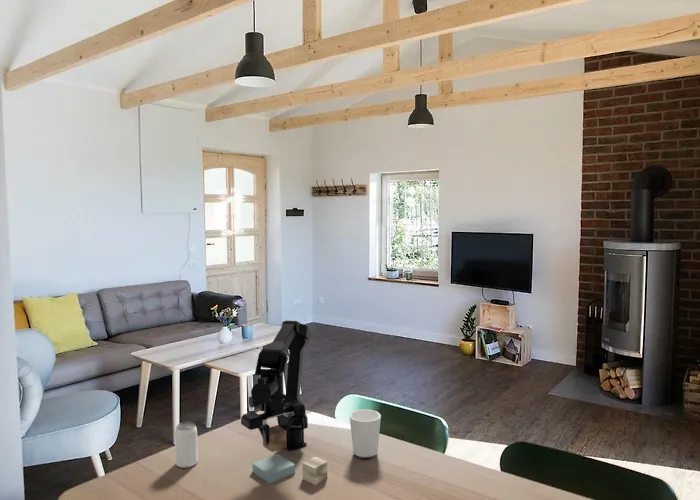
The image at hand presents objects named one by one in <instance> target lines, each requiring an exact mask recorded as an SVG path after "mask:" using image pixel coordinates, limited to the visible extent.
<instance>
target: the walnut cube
mask: <svg viewBox="0 0 700 500" xmlns="http://www.w3.org/2000/svg"><path fill="white" fill-rule="evenodd" d="M262 446H263V448H265V449H267V451H270V452H271V453H273V452H276V451H279V450H282V449H286V448H285V447H287V441H286V430H284V429H283V428H281V427H280V426H278V424H277V425H273V426H270V429H269V443H268V445H265V443H264V440H263V439H262Z"/></svg>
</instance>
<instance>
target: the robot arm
mask: <svg viewBox="0 0 700 500" xmlns="http://www.w3.org/2000/svg"><path fill="white" fill-rule="evenodd" d="M311 336H312V331H311V328H310V327H309V326H308V325H305V324H303V323H301V322H300V321H297V320H288V319H287V320H284V321H282V323H281V327H280V329H279V331H278V332H277V334H276V335H275V337H274V339H273V340H272V342H270V343H267V344H265V345H264V347H262V348H261V350H260V351H259V353H258V357H257V362H256V366H255V371H254V375H255V376H259V378H257V381H256V383H254V385H253V386H252V388H251V390H250V395H251V396H249V397H248V405H249V408H254V409H255V410H258V409H259V411H260V412H263V413H260V414H258V413H257V412H255V411H251V412H247V413H244V414H242V416H241V418H240V425H242V426H243V427H245V428H247V429H248V430H249V431H252V430H256V429H258V430H259V432H260V436H261V437H262V441H263V440H264V443H265V445H268V443H269V429H270V427H271V426H270V425H269V424H267V423H268V422H267V420H269V419H273V418H277V419H276V420H277V425H278V426H280V427H281V428H283V429H284V430H286V441H287V447H285V448H284V449H287V450H289V451H293V450H296V449H300V448H302V447H305V446H307V445H308V443H307V442H305V429H308V427H309V426H308V423H309V422H308V419H309V418H308V416H307V414H306V413H307V412H306V405H305V404H304V403H303V401H302V399H301V397H300V395H301V386H302V371H303V357H304V352H305V350H306V349H307V347H308V346H309V342H310V340H311ZM287 351H288V354H287ZM286 368H287V376H286V386H285V393H284V373H285V372H286Z"/></svg>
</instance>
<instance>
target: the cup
mask: <svg viewBox="0 0 700 500" xmlns="http://www.w3.org/2000/svg"><path fill="white" fill-rule="evenodd" d="M381 419H382V414H380V412H378V411H376V410H374V409H373V410H372V409H366V408H365V409H363V408H361V409H357V410H355V411H352V412H350V414H349V421H350V422H349V423H350V433H351V442H352V452H353V453H352V454H353V455H354V456H357V457H358V458H359V459H360V460H364V459H365V458H369V459H374V458H375V456H376V455H377V454H378V449H379V440H380V427H381Z"/></svg>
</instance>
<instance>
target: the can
mask: <svg viewBox="0 0 700 500" xmlns="http://www.w3.org/2000/svg"><path fill="white" fill-rule="evenodd" d="M174 443H175V444H174V447H175V464H176V467H178V468H181V469H189V468H193V467H194V466H196V464H197V463H199V453H198V452H199V450H198V443H199V442H198V429H197V426H196V423H195V422H194V421H193V422H192V421H183V422H181V423H179V424H177V425H176V426H175V431H174Z"/></svg>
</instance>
